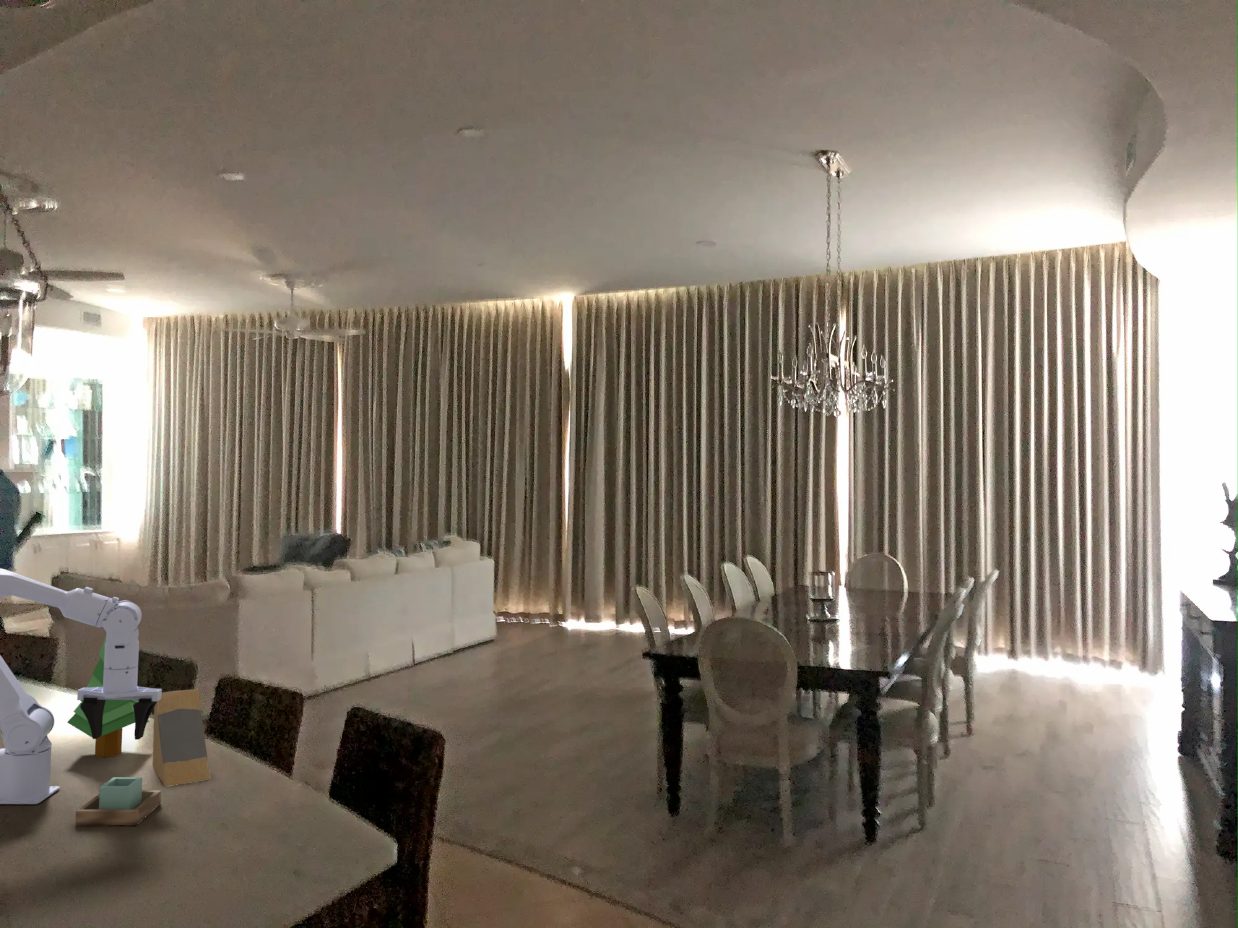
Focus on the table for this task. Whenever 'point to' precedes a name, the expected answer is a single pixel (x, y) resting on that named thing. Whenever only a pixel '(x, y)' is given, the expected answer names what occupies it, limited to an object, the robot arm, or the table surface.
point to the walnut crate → (117, 811)
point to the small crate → (121, 794)
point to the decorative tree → (106, 716)
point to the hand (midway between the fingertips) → (118, 737)
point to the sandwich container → (179, 738)
